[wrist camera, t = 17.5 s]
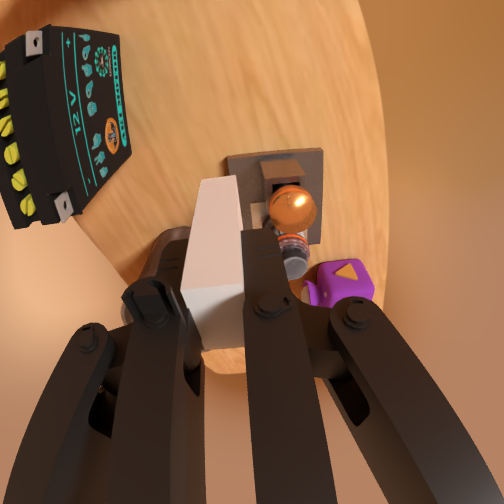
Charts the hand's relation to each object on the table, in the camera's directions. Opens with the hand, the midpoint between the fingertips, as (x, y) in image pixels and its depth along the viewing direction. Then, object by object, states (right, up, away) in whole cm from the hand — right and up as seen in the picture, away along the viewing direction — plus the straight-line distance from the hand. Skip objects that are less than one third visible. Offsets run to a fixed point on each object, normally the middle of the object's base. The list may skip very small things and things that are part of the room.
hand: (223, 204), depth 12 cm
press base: (+5, +6, +32) cm, 33 cm away
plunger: (+5, +6, +23) cm, 25 cm away
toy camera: (+17, -7, +44) cm, 47 cm away
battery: (-21, +20, +19) cm, 35 cm away
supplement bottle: (+6, +3, +33) cm, 33 cm away
